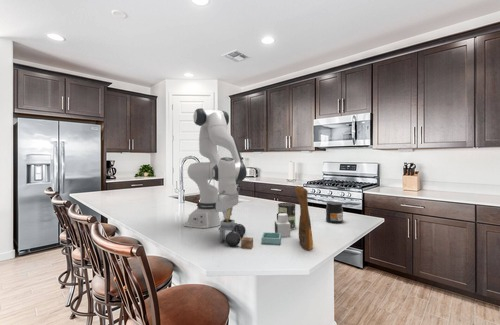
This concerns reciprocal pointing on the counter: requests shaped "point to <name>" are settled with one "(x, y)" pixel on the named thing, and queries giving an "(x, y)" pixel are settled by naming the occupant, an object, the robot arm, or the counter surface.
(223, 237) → the trolley
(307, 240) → the brown wooden upright piece
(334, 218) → the supplement container
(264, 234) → the tray
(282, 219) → the medicine bottle
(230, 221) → the pin
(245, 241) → the chock
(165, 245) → the counter surface
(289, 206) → the coffee can
